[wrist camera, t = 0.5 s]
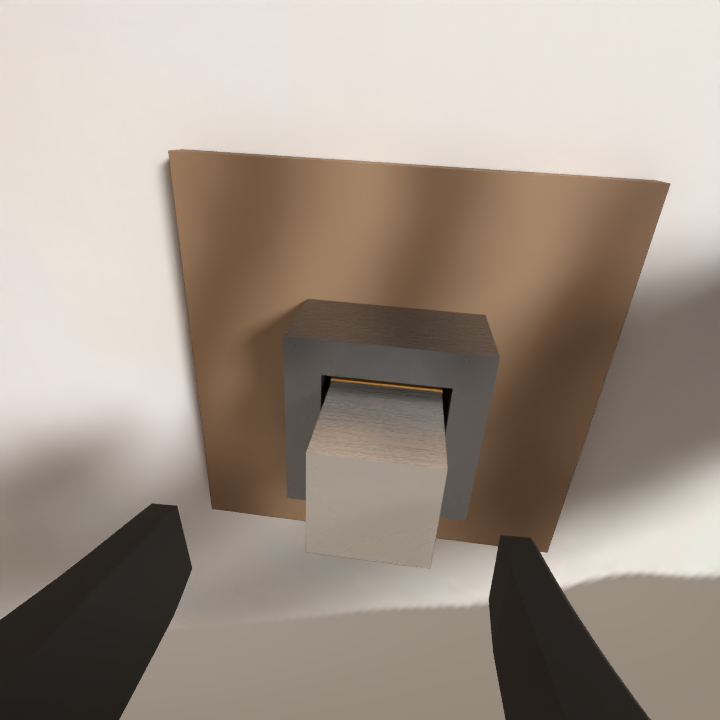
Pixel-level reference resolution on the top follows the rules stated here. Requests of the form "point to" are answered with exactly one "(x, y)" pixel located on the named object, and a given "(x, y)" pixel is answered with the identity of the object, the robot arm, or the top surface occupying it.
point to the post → (376, 472)
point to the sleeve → (391, 377)
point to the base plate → (409, 305)
